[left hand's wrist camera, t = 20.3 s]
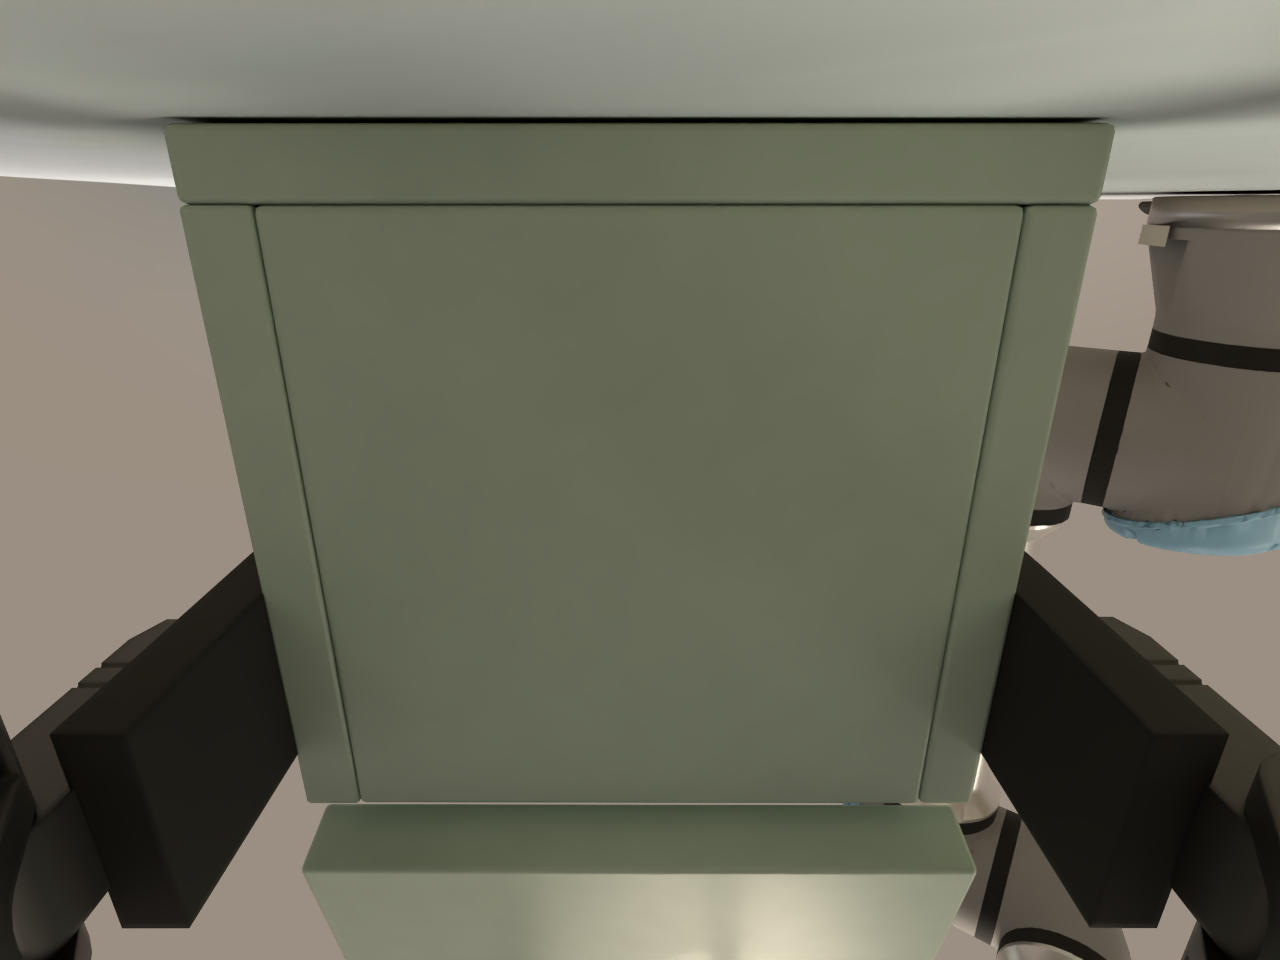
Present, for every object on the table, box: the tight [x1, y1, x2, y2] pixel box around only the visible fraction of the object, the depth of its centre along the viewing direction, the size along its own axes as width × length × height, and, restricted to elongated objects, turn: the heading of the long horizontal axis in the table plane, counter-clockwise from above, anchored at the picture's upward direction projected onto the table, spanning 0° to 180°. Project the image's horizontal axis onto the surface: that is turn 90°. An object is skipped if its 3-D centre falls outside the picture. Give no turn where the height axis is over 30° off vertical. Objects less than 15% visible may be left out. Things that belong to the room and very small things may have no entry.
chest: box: [164, 123, 1115, 803], centre depth 15 cm, size 13×10×9 cm
